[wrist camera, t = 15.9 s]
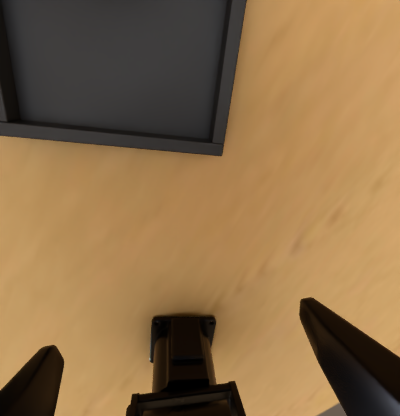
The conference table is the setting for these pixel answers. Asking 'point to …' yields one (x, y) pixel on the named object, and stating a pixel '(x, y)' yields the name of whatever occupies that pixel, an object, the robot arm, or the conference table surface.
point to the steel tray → (120, 71)
